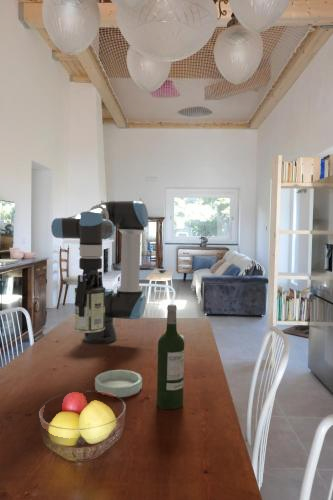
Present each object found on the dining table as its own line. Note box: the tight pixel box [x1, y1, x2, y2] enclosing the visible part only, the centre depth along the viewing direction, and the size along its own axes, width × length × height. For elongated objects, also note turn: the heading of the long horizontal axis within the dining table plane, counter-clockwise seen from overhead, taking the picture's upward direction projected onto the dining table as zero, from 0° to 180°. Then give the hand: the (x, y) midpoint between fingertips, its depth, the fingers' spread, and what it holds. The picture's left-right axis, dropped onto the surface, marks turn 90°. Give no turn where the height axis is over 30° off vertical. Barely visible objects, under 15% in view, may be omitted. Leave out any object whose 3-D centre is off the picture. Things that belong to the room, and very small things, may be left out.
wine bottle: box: [156, 303, 185, 410], centre depth 115 cm, size 8×8×30 cm
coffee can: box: [74, 286, 107, 334], centre depth 131 cm, size 10×10×14 cm
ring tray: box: [94, 369, 143, 398], centre depth 127 cm, size 15×15×3 cm
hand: (89, 322), depth 132 cm, fingers closed on coffee can, 10 cm apart
